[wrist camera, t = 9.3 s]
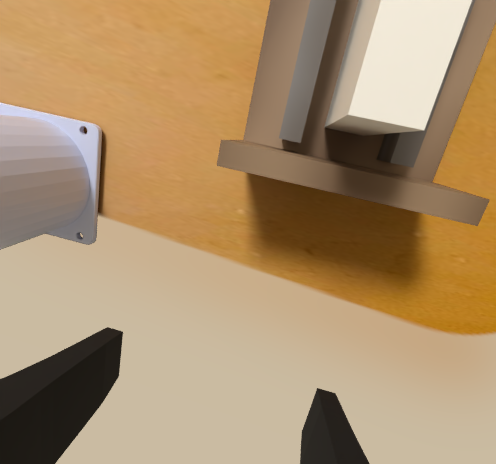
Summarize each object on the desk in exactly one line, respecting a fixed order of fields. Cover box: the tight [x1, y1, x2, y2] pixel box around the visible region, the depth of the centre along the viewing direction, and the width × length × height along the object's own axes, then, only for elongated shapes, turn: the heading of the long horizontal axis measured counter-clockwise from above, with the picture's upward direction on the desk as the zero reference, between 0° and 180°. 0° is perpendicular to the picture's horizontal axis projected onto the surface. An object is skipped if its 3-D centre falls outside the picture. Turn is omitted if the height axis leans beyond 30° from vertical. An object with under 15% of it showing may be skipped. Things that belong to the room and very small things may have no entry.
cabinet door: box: [324, 0, 472, 136], centre depth 11 cm, size 3×7×8 cm, turn 169°
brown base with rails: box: [217, 0, 496, 226], centre depth 13 cm, size 10×12×6 cm
